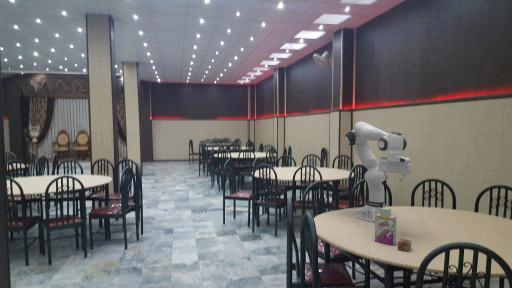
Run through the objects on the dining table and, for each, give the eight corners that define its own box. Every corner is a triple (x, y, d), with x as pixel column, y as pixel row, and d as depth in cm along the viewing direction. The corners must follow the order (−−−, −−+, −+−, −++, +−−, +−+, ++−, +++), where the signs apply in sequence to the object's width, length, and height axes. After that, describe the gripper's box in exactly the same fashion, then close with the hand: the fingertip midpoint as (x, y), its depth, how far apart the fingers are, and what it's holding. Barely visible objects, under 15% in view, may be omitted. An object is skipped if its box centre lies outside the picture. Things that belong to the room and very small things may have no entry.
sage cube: (380, 215, 209) (380, 208, 208) (383, 214, 212) (383, 207, 212) (387, 217, 206) (387, 209, 205) (390, 215, 209) (390, 208, 209)
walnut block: (397, 250, 197) (397, 241, 197) (400, 246, 202) (400, 238, 202) (409, 252, 193) (409, 243, 193) (411, 248, 198) (411, 240, 198)
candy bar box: (374, 241, 211) (375, 215, 211) (378, 239, 215) (378, 213, 214) (393, 245, 204) (393, 218, 203) (396, 243, 208) (396, 216, 207)
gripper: (376, 157, 220) (375, 178, 221) (409, 160, 206) (408, 183, 207) (381, 156, 224) (380, 177, 226) (413, 159, 210) (412, 181, 211)
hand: (394, 180), depth 216 cm, fingers open, 8 cm apart
